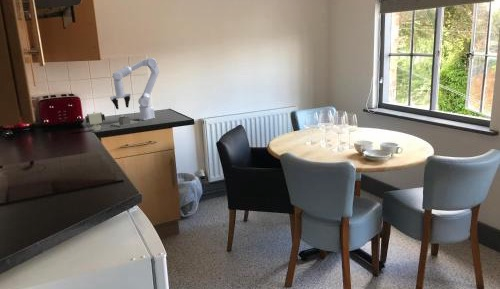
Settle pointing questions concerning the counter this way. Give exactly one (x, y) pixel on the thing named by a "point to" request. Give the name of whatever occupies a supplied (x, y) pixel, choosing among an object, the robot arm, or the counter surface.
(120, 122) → the knob
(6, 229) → the counter surface
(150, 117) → the robot arm
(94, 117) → the pneumatic valve
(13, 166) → the counter surface
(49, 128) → the counter surface
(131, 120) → the mount plate
